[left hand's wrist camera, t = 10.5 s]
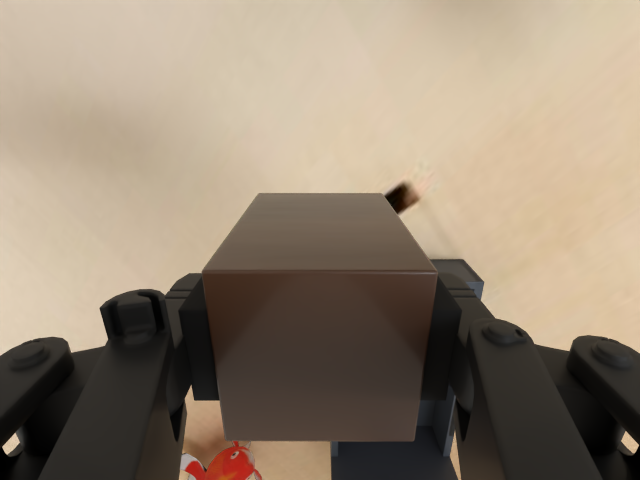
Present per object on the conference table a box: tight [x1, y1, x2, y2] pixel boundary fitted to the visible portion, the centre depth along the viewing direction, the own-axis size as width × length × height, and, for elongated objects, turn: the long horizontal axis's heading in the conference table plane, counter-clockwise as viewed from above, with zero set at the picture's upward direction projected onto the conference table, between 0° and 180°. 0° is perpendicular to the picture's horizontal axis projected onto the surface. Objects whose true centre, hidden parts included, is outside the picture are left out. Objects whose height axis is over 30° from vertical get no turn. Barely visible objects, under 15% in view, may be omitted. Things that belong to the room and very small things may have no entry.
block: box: [202, 193, 438, 441], centre depth 11 cm, size 5×5×7 cm
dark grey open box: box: [330, 260, 484, 480], centre depth 35 cm, size 24×14×10 cm, turn 0°
